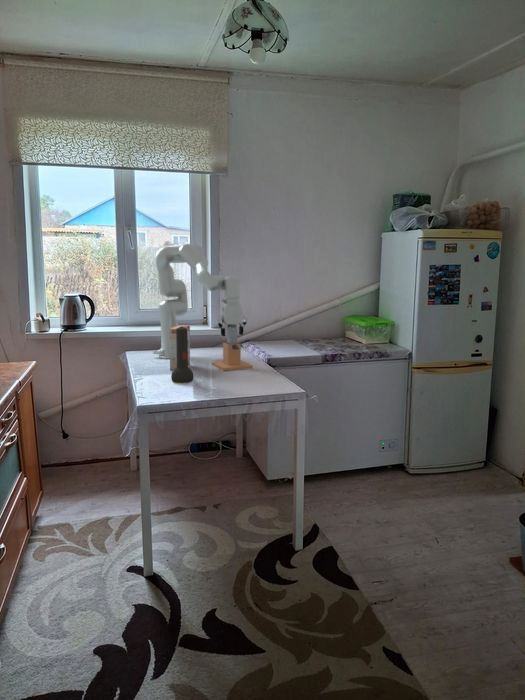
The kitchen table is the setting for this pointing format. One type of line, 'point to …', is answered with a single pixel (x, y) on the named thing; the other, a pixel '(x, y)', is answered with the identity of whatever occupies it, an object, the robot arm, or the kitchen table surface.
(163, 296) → the robot arm
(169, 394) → the kitchen table surface
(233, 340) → the steel column
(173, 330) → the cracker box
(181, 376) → the flashlight
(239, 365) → the stand
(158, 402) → the kitchen table surface
